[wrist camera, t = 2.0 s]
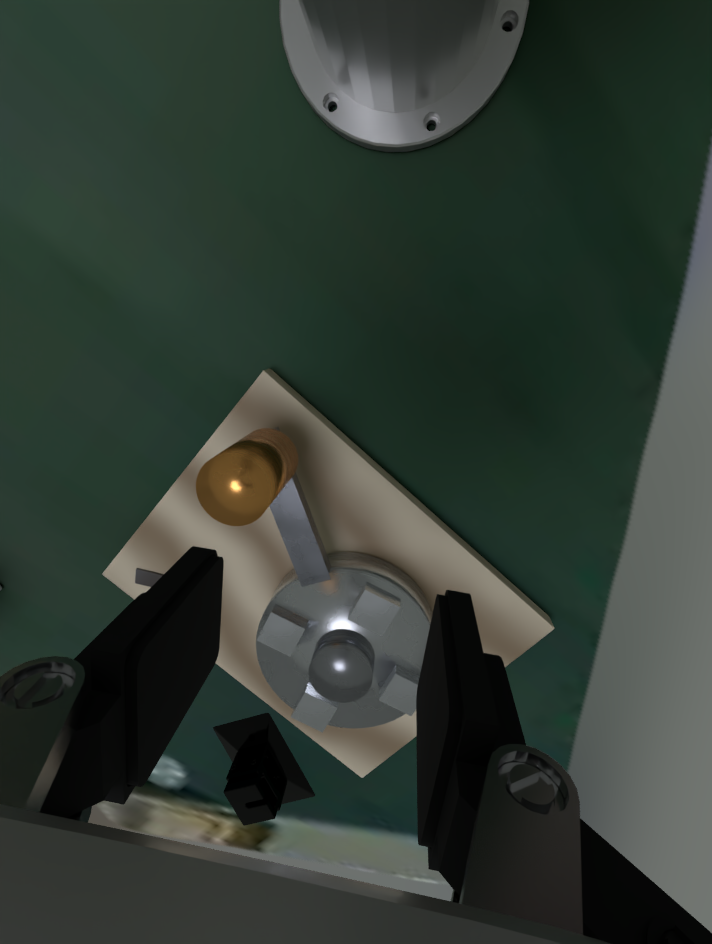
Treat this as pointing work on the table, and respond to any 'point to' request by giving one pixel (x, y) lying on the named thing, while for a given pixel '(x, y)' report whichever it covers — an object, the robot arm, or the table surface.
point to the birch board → (341, 530)
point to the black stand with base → (260, 769)
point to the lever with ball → (321, 599)
